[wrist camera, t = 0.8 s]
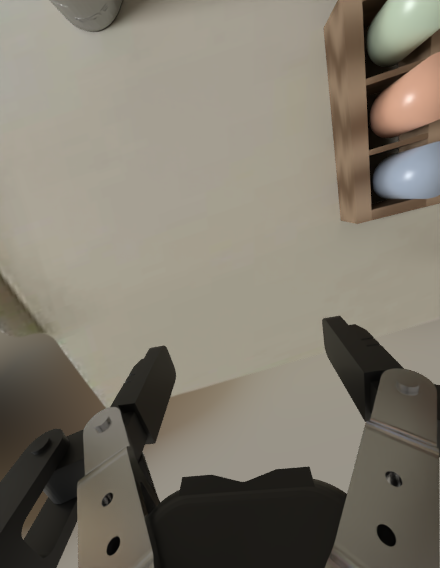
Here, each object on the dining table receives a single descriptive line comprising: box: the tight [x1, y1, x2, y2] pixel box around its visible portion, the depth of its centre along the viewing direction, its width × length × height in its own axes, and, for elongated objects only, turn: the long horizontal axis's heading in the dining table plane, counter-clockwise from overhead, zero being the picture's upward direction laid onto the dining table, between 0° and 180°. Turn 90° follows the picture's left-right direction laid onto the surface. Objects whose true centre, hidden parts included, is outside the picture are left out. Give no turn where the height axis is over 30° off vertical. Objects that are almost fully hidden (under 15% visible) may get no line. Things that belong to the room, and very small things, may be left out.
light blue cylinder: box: [372, 141, 440, 199], centre depth 25 cm, size 5×5×6 cm
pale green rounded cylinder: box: [366, 0, 440, 67], centre depth 21 cm, size 5×5×6 cm
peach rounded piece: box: [369, 52, 440, 138], centre depth 23 cm, size 5×5×6 cm
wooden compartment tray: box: [324, 0, 440, 224], centre depth 27 cm, size 23×10×5 cm, turn 15°
